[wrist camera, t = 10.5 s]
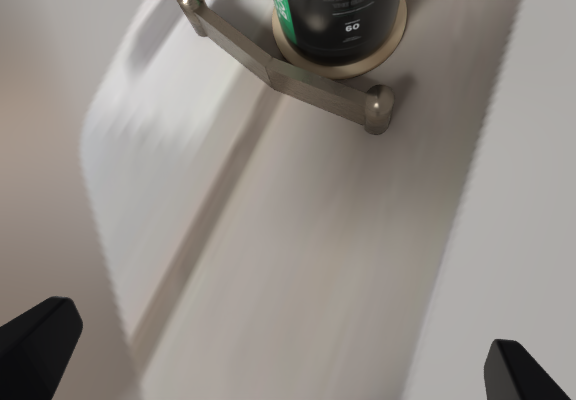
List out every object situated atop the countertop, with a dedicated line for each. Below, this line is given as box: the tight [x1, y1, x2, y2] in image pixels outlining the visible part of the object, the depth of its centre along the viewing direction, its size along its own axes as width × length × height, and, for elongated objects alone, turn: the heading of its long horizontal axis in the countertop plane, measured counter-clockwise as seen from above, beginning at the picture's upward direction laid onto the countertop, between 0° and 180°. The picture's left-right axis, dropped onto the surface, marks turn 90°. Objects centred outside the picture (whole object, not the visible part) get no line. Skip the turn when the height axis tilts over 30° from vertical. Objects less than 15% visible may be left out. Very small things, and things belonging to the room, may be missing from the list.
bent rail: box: [177, 0, 395, 135], centre depth 23 cm, size 2×14×3 cm, turn 55°
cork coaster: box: [272, 0, 407, 80], centre depth 25 cm, size 8×8×1 cm
